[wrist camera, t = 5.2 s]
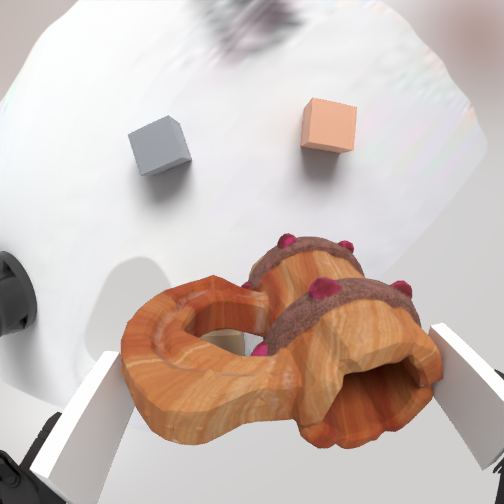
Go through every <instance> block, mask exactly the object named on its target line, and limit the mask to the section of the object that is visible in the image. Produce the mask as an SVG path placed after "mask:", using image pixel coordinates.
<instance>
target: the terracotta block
mask: <svg viewBox="0 0 504 504" xmlns="http://www.w3.org/2000/svg"><path fill="white" fill-rule="evenodd" d="M356 113H357V107H354V106H349V105H345V104H341V103H336V102H332V101H327V100H322V99H317V98H312V99H311V100H310V102H309V103H308V104H307V105H306V106H305V108H304V115H303V126H302V136H301V146H300V147H307V148H313V149H319V150H325V151H330V152H336V153H343V152H348V151H352V150H354V140H355V127H356Z"/></svg>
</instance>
